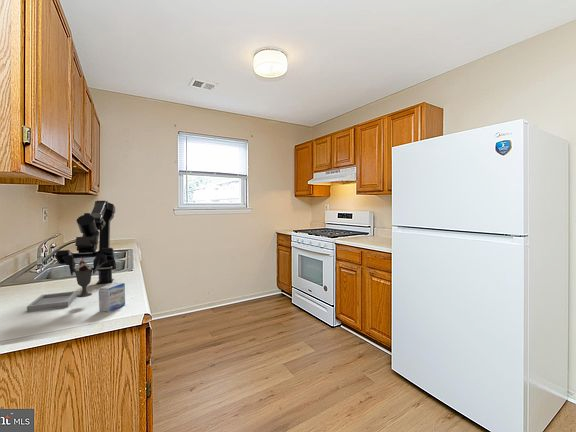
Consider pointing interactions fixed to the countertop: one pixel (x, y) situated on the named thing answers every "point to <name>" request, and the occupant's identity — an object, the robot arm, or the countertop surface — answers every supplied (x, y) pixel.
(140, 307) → the countertop surface
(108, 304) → the medicine box
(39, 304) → the tray
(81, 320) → the countertop surface
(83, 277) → the sundae
